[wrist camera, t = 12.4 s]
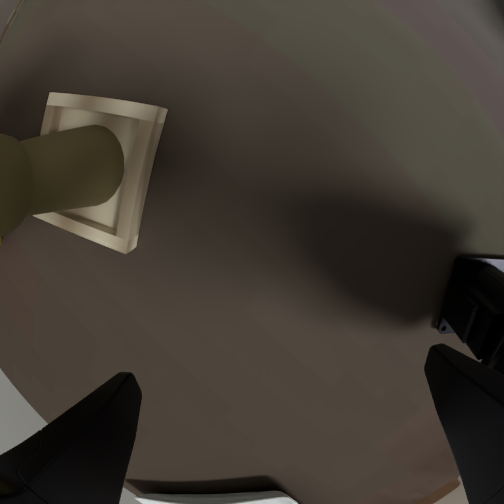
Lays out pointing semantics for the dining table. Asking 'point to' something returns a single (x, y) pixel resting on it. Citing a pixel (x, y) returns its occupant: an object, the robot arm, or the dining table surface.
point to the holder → (135, 164)
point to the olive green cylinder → (57, 172)
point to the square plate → (218, 498)
